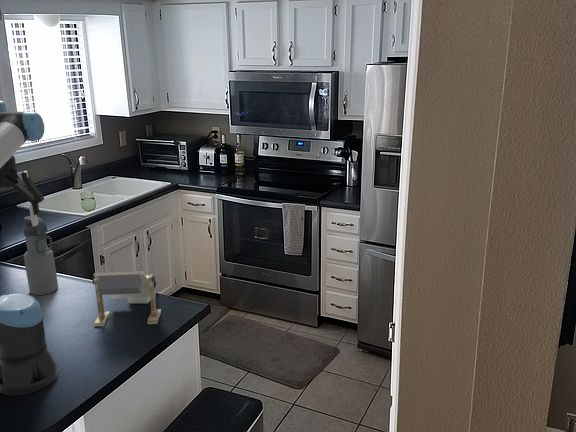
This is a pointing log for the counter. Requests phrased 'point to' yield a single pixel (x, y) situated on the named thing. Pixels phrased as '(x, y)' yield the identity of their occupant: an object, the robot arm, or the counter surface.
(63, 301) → the counter surface
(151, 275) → the flap stand
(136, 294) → the trapdoor flap
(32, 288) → the water bottle
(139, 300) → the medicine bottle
